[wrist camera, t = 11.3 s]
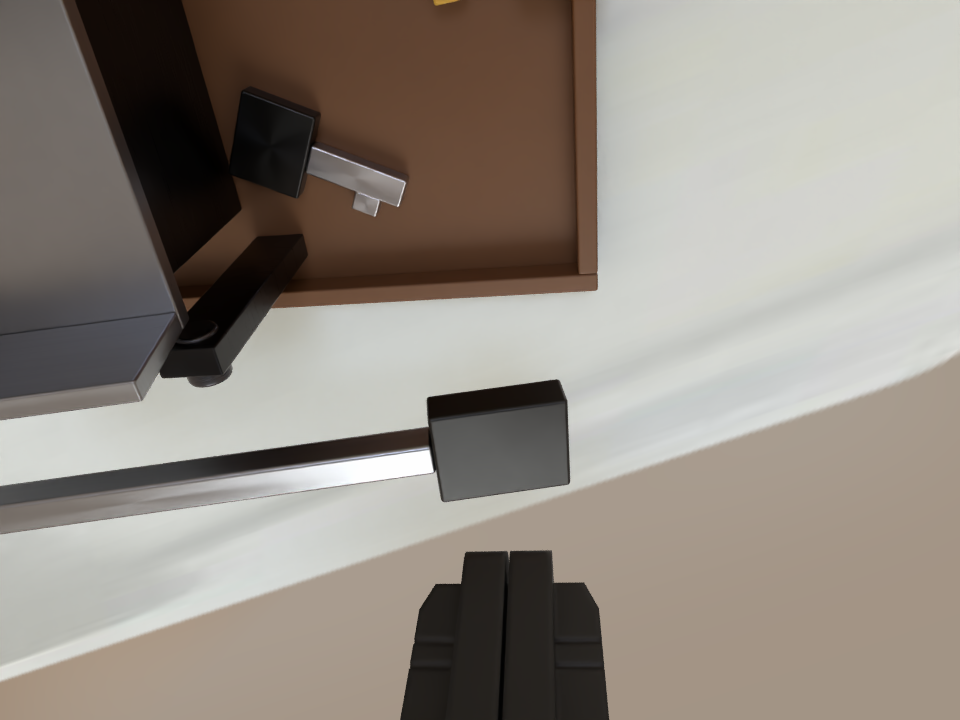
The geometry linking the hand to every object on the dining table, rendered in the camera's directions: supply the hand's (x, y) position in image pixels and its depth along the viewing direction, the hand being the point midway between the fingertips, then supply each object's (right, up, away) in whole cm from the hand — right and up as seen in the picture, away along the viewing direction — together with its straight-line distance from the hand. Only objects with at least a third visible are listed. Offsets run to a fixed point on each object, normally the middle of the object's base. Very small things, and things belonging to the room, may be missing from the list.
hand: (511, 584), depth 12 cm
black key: (-6, +10, +9) cm, 15 cm away
